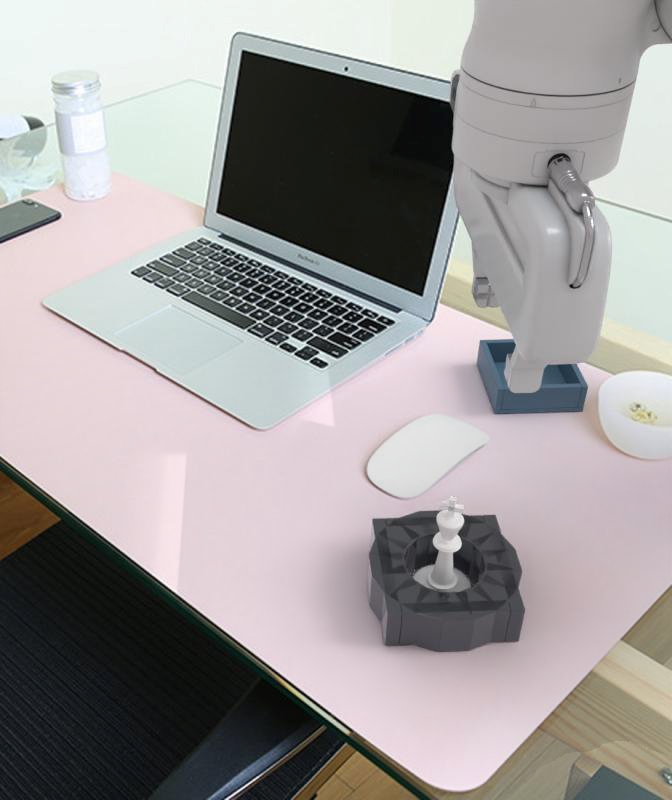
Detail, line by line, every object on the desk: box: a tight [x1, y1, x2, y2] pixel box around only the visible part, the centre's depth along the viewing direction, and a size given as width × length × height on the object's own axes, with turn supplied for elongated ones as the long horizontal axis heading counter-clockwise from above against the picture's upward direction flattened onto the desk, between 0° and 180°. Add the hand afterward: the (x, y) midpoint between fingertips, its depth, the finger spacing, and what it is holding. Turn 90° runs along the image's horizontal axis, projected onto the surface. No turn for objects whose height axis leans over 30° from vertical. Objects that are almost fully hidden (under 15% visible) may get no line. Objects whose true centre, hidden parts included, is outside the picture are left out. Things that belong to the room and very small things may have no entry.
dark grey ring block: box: [366, 509, 526, 653], centre depth 74 cm, size 11×11×4 cm
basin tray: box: [476, 338, 589, 415], centre depth 96 cm, size 9×9×3 cm
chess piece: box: [412, 495, 473, 592], centre depth 72 cm, size 5×5×10 cm
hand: (502, 341), depth 59 cm, fingers open, 8 cm apart
